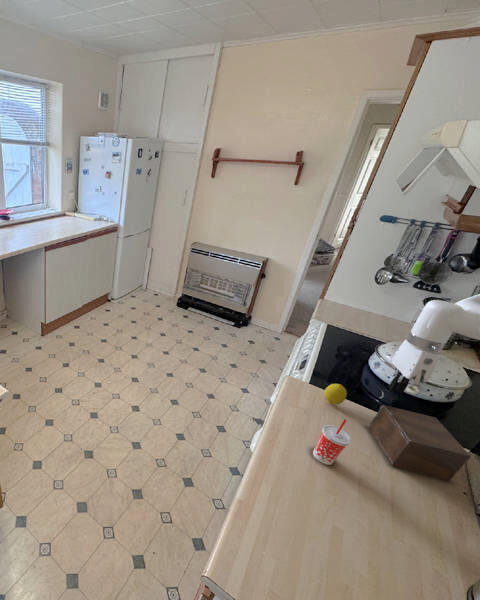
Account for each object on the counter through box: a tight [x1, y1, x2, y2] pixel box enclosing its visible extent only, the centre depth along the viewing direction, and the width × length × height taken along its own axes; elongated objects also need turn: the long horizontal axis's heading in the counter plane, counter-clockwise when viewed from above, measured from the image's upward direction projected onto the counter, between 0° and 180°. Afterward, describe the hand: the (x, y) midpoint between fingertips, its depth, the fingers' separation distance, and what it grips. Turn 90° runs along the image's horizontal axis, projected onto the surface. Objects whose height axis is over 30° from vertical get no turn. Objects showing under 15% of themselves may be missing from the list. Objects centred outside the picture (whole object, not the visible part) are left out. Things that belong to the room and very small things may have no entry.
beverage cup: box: [312, 419, 352, 466], centre depth 85 cm, size 6×6×14 cm
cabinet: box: [368, 404, 472, 482], centre depth 89 cm, size 14×13×10 cm
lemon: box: [323, 383, 348, 405], centre depth 106 cm, size 6×6×8 cm
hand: (395, 390), depth 101 cm, fingers closed
